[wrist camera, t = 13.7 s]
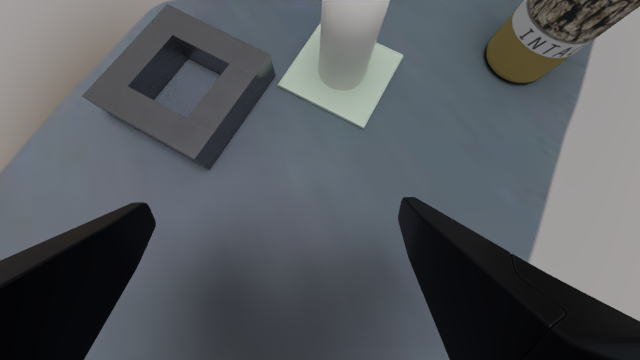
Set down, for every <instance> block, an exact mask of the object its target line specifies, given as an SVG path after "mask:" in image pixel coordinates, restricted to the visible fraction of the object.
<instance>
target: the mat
mask: <svg viewBox="0 0 640 360" xmlns="http://www.w3.org/2000/svg"><path fill="white" fill-rule="evenodd" d="M320 32H321V23H320V24H319V26H318V27H317V29H316V30H315V32H314V33H313V34H312V36H311V37H310V39H309V40H308V42H307V43H306V45H305V46H304V47H303V49H302V50H301V52H300V53H299V55H298V56H297V58H296V59H295V61H294V62H293V63H292V65H291V66H290V68H289V69H288V71H287V72H286V74H285V75H284V76H283V78H282V79H281V81H280V82H279V84H278V87H279V88H281V89H283V90H285V91H287V92H289V93H291V94H293V95H295V96H297V97H299V98H301V99H303V100H305V101H307V102H309V103H311V104H313V105H315V106H317V107H319V108H321V109H323V110H325V111H327V112H329V113H331V114H333V115H335V116H337V117H339V118H341V119H343V120H345V121H347V122H349V123H351V124H353V125H355V126H357V127H359V128H361V129H364V127H365V125H366V124H367V122H368V120H369V118H370V116H371V114H372V113H373V111H374V109H375V107H376V105H377V103H378V102H379V100H380V98H381V96H382V94H383V93H384V91H385V89H386V87H387V85H388V83H389V82H390V80H391V78H392V76H393V74H394V72H395V71H396V69H397V67H398V65H399V63H400V62H401V60H402V58H403V56H404V55H402V54H400V53H398V52H396V51H394V50H391V49H389V48H387V47H385V46H383V45H380V44H378V43H376V44H375V47H374V50H373V53H372V56H371V58H370V61H369V64H368V67H367V70H366V73H365V76H364V79H363V81H362V82H361V83H360V84H359V85H358V86H357V87H355V88H353V89H350V90H337V89H334V88H331V87H329V86H328V85H326V84H325V83H324V82H323V80H322V79H321V77H320V75H319V51H320Z"/></svg>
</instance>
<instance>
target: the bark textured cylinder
mask: <svg viewBox="0 0 640 360" xmlns="http://www.w3.org/2000/svg"><path fill="white" fill-rule="evenodd" d="M639 6H640V0H524V1H523V3H522V4H521V5H520V6H519V7H518V8H517V9H516V11H515V12H514V13H513V14H512V16H511V17H510V18H509V19H508V20H507V21H506V22H505V24H504V25H503V26H502V27H501V28H500V29H499V30H498V32H497V33H496V34H495V35H494V36H493V37H492V39H491V40H490V42H489V43H488V46H487V52H486V56H487V60H488V63H489V65H490V67H491V68H492V69H493V71H494V72H495V73H496V74H498V75H499V76H500V77H502V78H504V79H506V80H508V81H511V82H515V83H527V82H532V81H535V80H537V79H539V78H541V77H542V76H544V75H545V74H546V73H548V72H549V71H550V70H552V69H553V68H555V67H556V66H557V65H559V64H560V63H561V62H563V61H564V60H566V59H567V58H568V57H570V56H571V55H573V54H574V53H576V52H577V51H578V50H580V49H581V48H583V47H584V46H585V45H587V44H588V43H589V42H591V41H592V40H594V39H595V38H596V37H598V36H599V35H601V34H602V33H603V32H605V31H606V30H607V29H609V28H610V27H611V26H613V25H614V24H616V23H617V22H618V21H620V20H621V19H623V18H624V17H625V16H627V15H628V14H630V13H631V12H632V11H634V10H635V9H636V8H638V7H639Z"/></svg>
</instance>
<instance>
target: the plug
mask: <svg viewBox="0 0 640 360" xmlns="http://www.w3.org/2000/svg"><path fill="white" fill-rule="evenodd" d="M389 2H390V0H322V14H321V32H320V51H319V75H320V77H321V79H322V80H323V82H324V83H325V84H326V85H328V86H329V87H331V88H334V89H337V90H350V89H353V88H355V87H357V86H358V85H359V84H360V83H361V82H362V81H363V79H364V76H365V73H366V70H367V67H368V64H369V61H370V58H371V56H372V53H373V50H374V47H375V44H376V41H377V38H378V35H379V32H380V29H381V26H382V23H383V20H384V17H385V14H386V11H387V8H388V5H389Z"/></svg>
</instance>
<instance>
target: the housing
mask: <svg viewBox="0 0 640 360" xmlns="http://www.w3.org/2000/svg"><path fill="white" fill-rule="evenodd" d="M188 58H189V59H191V60H193V61H195V62H197V63H199V64H201V65H203V66H205V67H206V68H208V69H210V70H212V71H214V72H216V73H218V74H220V75H221V76H220V77H219V78H218V79H217V81H216V82H215V83H214V85H213V86H212V87H211V88H210V90H209V91H208V92H207V94H206V95H205V96H204V98H203V99H202V100H201V101H200V103H199V104H198V105H197V107H196V108H195V109H194V110H193V112H192V113H191V114H190V116H189V117H188V118H185V117H184V116H182V115H180V114H178V113H176V112H174V111H173V110H171V109H169V108H167V107H165V106H163V105H161V104H160V103H158V102H156V101H154V99H155V98H156V96H157V95H158V94H159V93H160V92H161V90H162V89H163V88H164V87H165V86H166V84H167V83H168V82H169V81H170V80H171V78H172V77H173V76H174V75H175V74H176V72H177V71H178V70H179V69H180V68H181V66H182V65H183V64H184V63H185V62H186V60H187V59H188ZM274 77H275V73H274V68H273V64H272V59H271V55H270V54H268V53H266V52H264V51H262V50H260V49H258V48H256V47H254V46H252V45H250V44H247V43H245V42H243V41H241V40H239V39H237V38H235V37H233V36H231V35H229V34H227V33H225V32H223V31H221V30H219V29H217V28H215V27H213V26H211V25H209V24H207V23H205V22H202V21H200V20H198V19H196V18H194V17H192V16H190V15H188V14H186V13H184V12H182V11H180V10H178V9H176V8H174V7H172V6H170V5H168V4H167V5H166V6H165V7H164V8H163V9H162V10H161V12H160V13H159V14H158V15H157V16H156V17H155V18H154V19H153V20H152V21H151V22H150V23H149V24H148V26H147V27H146V28H145V29H144V30H143V31H142V32H141V33H140V34H139V35H138V36H137V37H136V38H135V40H134V41H133V42H132V43H131V44H130V45H129V46H128V47H127V48H126V49H125V50H124V51H123V52H122V54H121V55H120V56H119V57H118V58H117V59H116V60H115V61H114V62H113V63H112V64H111V65H110V66H109V68H108V69H107V70H106V71H105V72H104V73H103V74H102V75H101V76H100V77H99V78H98V79H97V80H96V82H95V83H94V84H93V85H92V86H91V87H90V88H89V89H88V90H87V91H86V92H85V93H84V94H83V96H82V97H84V98H85V99H87V100H88V101H90V102H92V103H93V104H95V105H96V106H98V107H99V108H101V109H103V110H104V111H106V112H107V113H109V114H111V115H112V116H114V117H116V118H118V119H120V120H121V121H123V122H125V123H127V124H129V125H130V126H132V127H134V128H136V129H137V130H139V131H141V132H143V133H145V134H146V135H148V136H150V137H152V138H154V139H155V140H157V141H159V142H161V143H163V144H164V145H166V146H168V147H170V148H171V149H173V150H175V151H177V152H179V153H180V154H182V155H184V156H186V157H188V158H189V159H191V160H193V161H195V162H197V163H198V164H200V165H202V166H204V167H205V168H207V169H209V170H210V168H211V167H212V165H213V164H214V163H215V161H216V160H217V158H218V157H219V155H220V154H221V153H222V151H223V150H224V148H225V147H226V145H227V144H228V143H229V141H230V140H231V138H232V137H233V135H234V134H235V133H236V131H237V130H238V128H239V127H240V125H241V124H242V123H243V121H244V120H245V118H246V117H247V115H248V114H249V113H250V111H251V110H252V108H253V107H254V105H255V104H256V103H257V101H258V100H259V98H260V97H261V95H262V94H263V93H264V91H265V90H266V88H267V87H268V85H269V84H270V83H271V81H272V80H273V78H274Z"/></svg>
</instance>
